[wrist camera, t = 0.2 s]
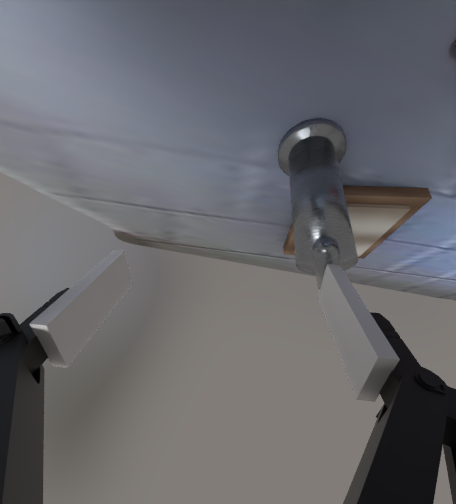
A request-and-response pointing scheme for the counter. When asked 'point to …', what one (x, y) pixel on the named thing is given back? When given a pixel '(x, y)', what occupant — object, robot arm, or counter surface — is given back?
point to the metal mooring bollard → (318, 196)
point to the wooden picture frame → (375, 214)
